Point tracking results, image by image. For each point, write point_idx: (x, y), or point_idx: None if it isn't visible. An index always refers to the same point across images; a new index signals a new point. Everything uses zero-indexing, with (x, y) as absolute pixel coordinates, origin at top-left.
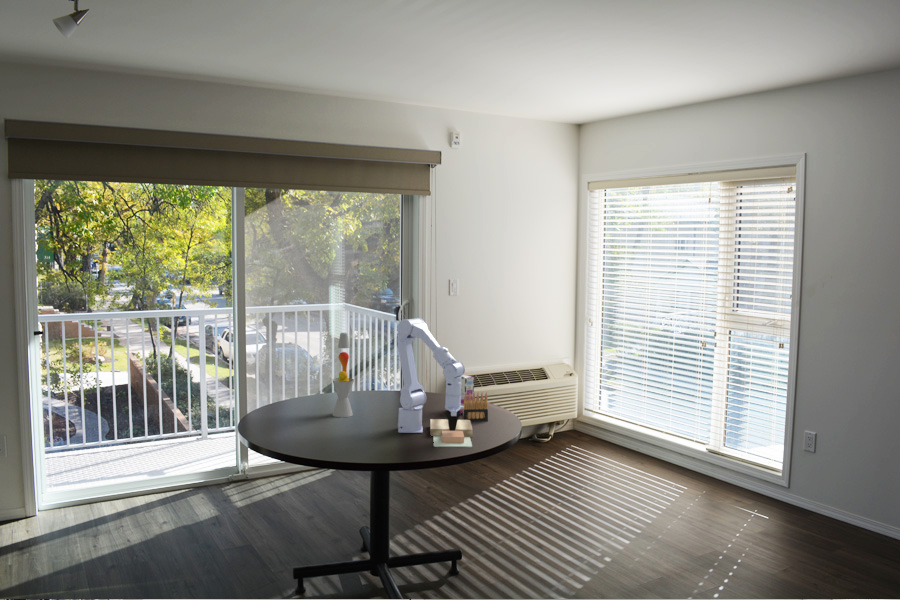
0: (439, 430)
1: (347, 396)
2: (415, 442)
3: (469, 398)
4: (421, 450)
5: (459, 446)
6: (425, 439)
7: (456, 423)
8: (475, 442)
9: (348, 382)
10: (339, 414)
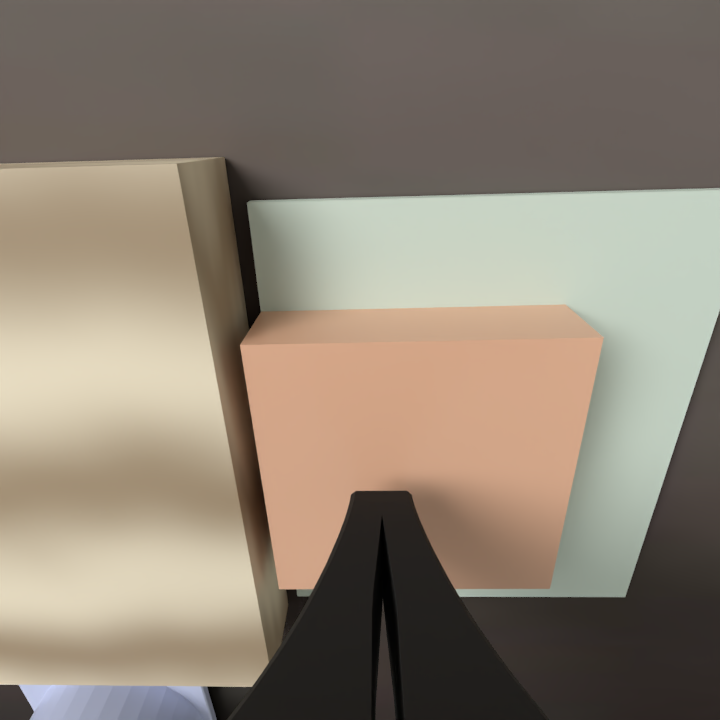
0: (265, 604)
1: None
2: None
3: None
4: (702, 659)
5: (699, 366)
6: (380, 635)
7: (451, 587)
8: (493, 117)
9: None
10: None
